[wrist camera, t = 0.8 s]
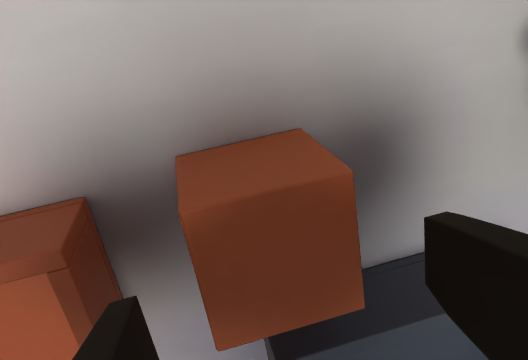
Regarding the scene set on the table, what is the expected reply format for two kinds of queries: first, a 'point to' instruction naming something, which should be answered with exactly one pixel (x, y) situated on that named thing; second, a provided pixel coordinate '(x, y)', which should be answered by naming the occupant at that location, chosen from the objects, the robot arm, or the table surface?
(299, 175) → the terracotta block
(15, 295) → the terracotta bin
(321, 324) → the slate bin
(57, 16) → the table surface
